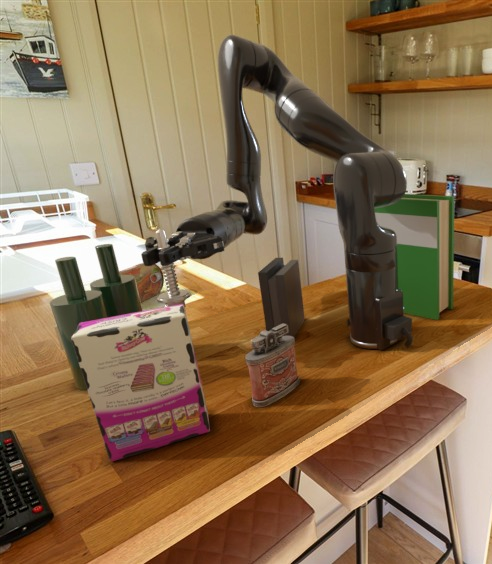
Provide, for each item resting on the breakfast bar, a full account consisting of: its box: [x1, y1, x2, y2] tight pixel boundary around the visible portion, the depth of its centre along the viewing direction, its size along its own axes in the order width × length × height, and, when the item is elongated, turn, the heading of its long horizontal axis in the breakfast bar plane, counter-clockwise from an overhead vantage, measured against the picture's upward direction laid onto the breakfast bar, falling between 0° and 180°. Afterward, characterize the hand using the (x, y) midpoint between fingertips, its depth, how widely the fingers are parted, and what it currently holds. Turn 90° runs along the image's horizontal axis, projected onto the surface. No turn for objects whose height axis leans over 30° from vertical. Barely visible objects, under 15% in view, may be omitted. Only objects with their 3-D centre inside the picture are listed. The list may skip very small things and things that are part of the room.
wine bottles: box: [49, 243, 144, 391], centre depth 68 cm, size 14×7×20 cm, turn 178°
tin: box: [119, 262, 165, 303], centre depth 101 cm, size 15×3×8 cm, turn 168°
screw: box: [155, 228, 192, 308], centre depth 66 cm, size 13×5×5 cm
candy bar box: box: [71, 304, 211, 462], centre depth 51 cm, size 11×5×16 cm, turn 117°
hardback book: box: [374, 193, 455, 321], centre depth 90 cm, size 18×7×24 cm, turn 58°
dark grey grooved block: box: [257, 257, 306, 338], centre depth 81 cm, size 4×10×14 cm, turn 178°
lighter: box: [244, 324, 301, 408], centre depth 61 cm, size 8×3×10 cm, turn 148°
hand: (154, 259), depth 63 cm, fingers closed on screw, 2 cm apart
